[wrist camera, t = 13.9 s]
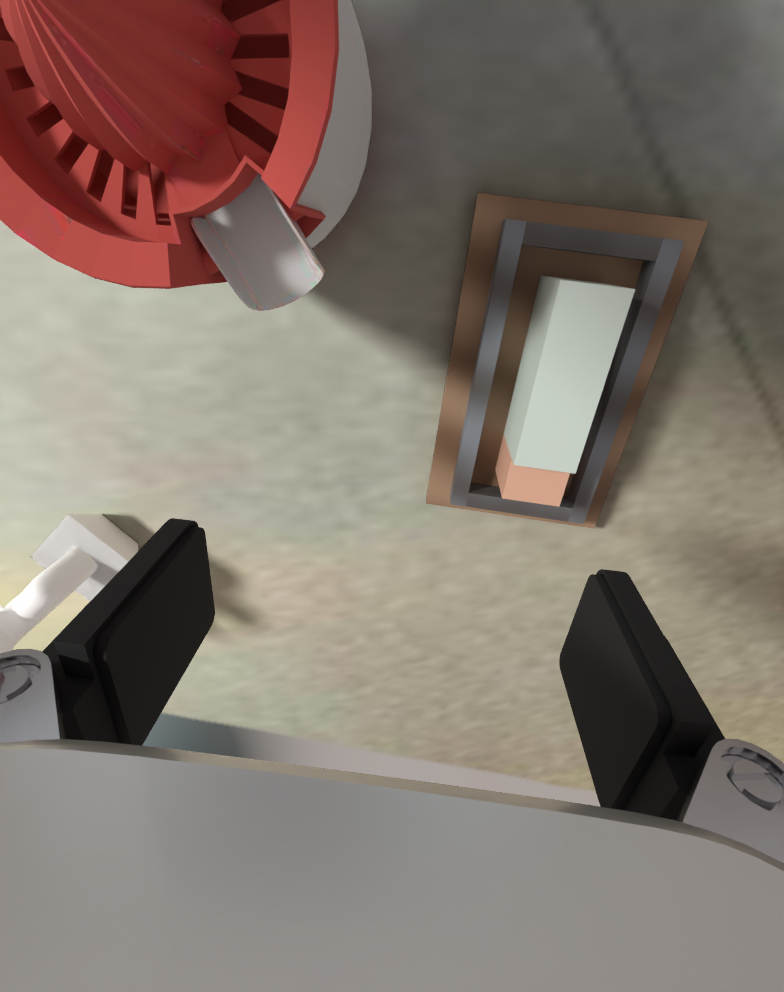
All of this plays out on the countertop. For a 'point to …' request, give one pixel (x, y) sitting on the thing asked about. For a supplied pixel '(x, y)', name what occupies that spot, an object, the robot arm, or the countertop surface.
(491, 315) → the jig
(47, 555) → the figurine
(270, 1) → the citrus juicer
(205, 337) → the countertop surface
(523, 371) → the white bar
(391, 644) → the countertop surface
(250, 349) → the countertop surface
